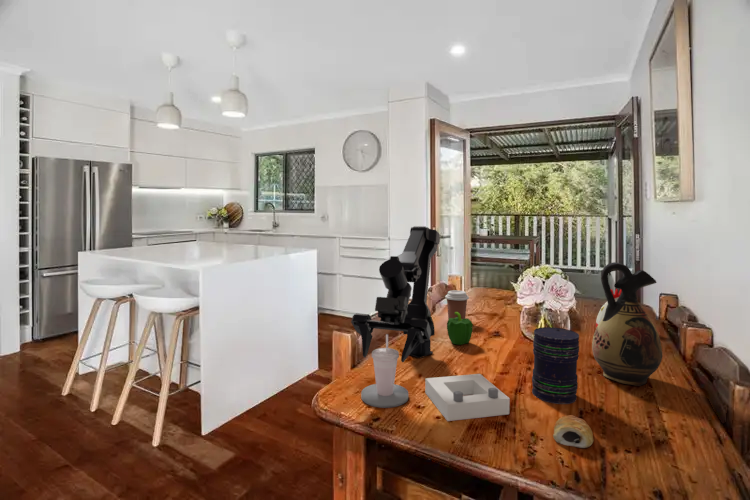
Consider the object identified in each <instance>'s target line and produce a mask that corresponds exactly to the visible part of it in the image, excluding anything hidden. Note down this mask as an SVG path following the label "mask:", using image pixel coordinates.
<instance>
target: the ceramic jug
mask: <svg viewBox="0 0 750 500" xmlns="http://www.w3.org/2000/svg"><path fill="white" fill-rule="evenodd" d="M616 271H619V272H620V273H623V276H622V277H620V278H618V280H617V281H616V282H615V283H614V288H615V289H619V290H620V289H621V290H622V292H621V294H620V296H619V298H618V299H617V301H615V299H614V296H613V294H614V293H613V294H612V292H611V289H612V288H611V286H610V283H609V274H611V273H612V272H616ZM600 272H601V273H600V280H601V285H602V289H603V291H604V295H605V298H606V302H608V305H607V308H606V311H605V315H604V317H603V319H602V320H601V321H600V323H599V324H598V326H597V327H596V328H595V331H594V334H593V337H592V343H591V349H592V354H593V358H594V360H595V361H596V363H597V364H598V365H599V367H600V368H601V369H602V371H603V375H602V376H603V377H605V378H607V379H609V380H612V381H614V382H617V383H619V384H623V385H624V384H625V385H629V386H631V385H632V386H634V387H635V386H636V387H641V386H644V385H646V383H647V382H648V379H649V377H651V376H652V375H653V374H654V373H655V372H656V371H657V370H658V369H659V367H660V365H661V363H662V360H663V356H664V355H663V348H662V342H661V339H660V338H661V337H660V334H659V332H658V331H657V328H656V326H655V324H654V323H653V321H652V320H651V318H650V317H649V315H648V314H647V312H646V311H645V309H644V308H643V307H642V305H641V304H640V301H638V299H637V298H638V296H637V291H638V290H640V289H643V288H645V287H647V286H652V285H655V284H656V283H657V280H656V279H655V278H653V276H652V275H650V273H648V272H646V271H645V270H644V269H638V270H637V271H636V272H634V273H632V271H631V270H630V268H629V266H627V265H625V264H623V263H621V262H616V261H615V262H610V263H608V264H606V265H605V266H604V267H603V268H602V270H601V271H600Z"/></svg>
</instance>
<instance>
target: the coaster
mask: <svg viewBox="0 0 750 500" xmlns="http://www.w3.org/2000/svg"><path fill="white" fill-rule="evenodd" d="M360 394H361V396H360V399H361V401H362V402H363V403H365V404H366V405H368V406H371V407H373V408H381V409H388V408H396V407H399V406H403V405H405V403H407V402H408V400H409V391H408V389H407V388H406V387H404V386H401V385H400V384H399V385H398V384H395V383H394V389H393V394H392V395H389V396H381V395H379V394H378V393H377V387H376V383H374V384H370V385H368V386H366V387H364V388H363V389H361V391H360Z"/></svg>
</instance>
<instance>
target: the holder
mask: <svg viewBox="0 0 750 500" xmlns="http://www.w3.org/2000/svg"><path fill="white" fill-rule="evenodd" d="M424 380H425V381H424V382H425V386H424V387H425V388H424V389H425V390H424V393H425V394H426V396H427V398H429V399H430V401H432V404H433V405H434V406H435V407H436V409H437V410H438V412H440V414H441V415H442V416H443V417H444V419H445V420H446V422H451V421H452V422H453V421H461V420H469V419H471V420H472V419H478V418H479V419H480V418H487V417H496V416H505V415H510V399H511V398H510V397H509V396H507V395H506V394H505V393H504V392H502V390H500V389H499V388H498V387H497V386H495V385H494V384H493V383H492V382H490V380H488V379H487V378H486V377H484V376H483V374H481V373H472V374H461V375H451V376H439V377H437V376H436V377H427V378H426V377H425V379H424Z"/></svg>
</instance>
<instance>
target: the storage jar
mask: <svg viewBox="0 0 750 500" xmlns="http://www.w3.org/2000/svg"><path fill="white" fill-rule="evenodd" d="M533 335H534V336H533V341H532V342H533V343H532V344H533V345H532V346H533V348H532V355H534V357H533V369H532V376H531V382H532V389H531V393H532V395H533V396H534V397H535V396H536V397H535V398H537V399H538V398H539V399H538V400H540V399H541V401H543V402H546V403H549V404H550V403H551V404H556V405H570V404H573V403H575V402H576V401H577V397H578V396H577V393H578V383H579V382H578V375H577V371H578V370H577V369H578V365H577V364H578V360H579V356H580V355H579V352H580V345H579V344H580V341H579V340H580V334H579V333H578V332H576V331H574V330H572V329H571V330H570V329H567V328H566V329H565V328H560V327H554V326H553V327H552V326H551V327H550V326H547V327H538V328H535V329H534V330H533Z"/></svg>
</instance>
